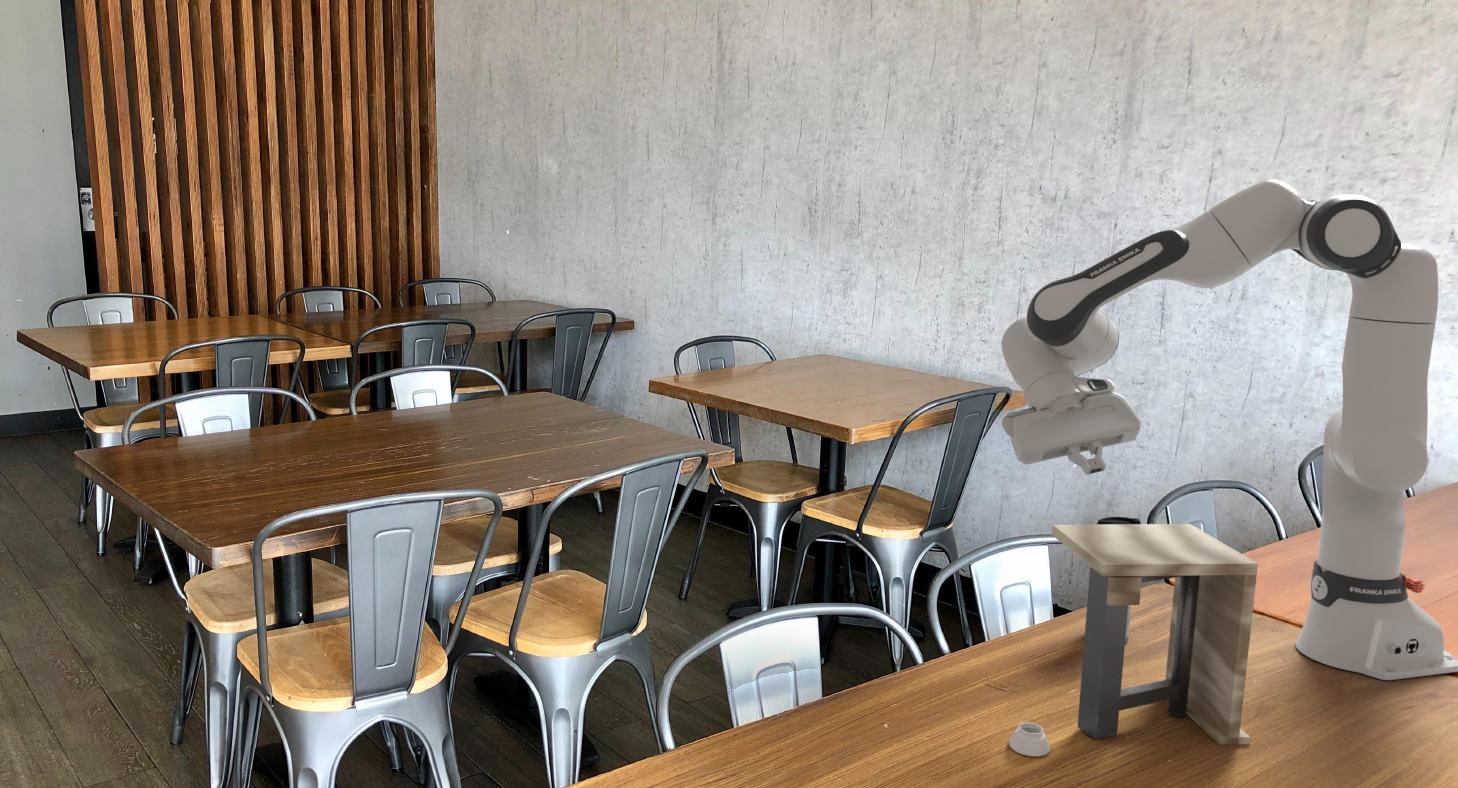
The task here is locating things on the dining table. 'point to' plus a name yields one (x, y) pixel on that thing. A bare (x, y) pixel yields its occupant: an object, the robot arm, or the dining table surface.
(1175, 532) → the side table
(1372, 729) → the dining table surface
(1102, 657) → the frame
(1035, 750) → the white jar
